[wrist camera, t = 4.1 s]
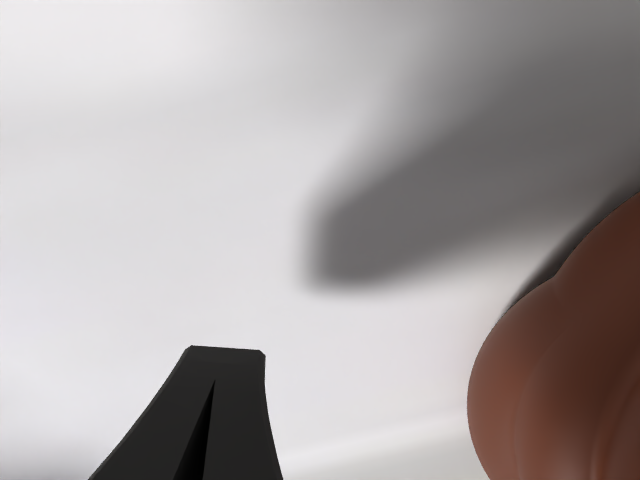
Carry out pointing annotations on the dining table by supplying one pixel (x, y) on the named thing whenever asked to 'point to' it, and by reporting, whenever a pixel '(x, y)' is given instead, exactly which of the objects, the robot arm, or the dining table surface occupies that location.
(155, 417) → the robot arm
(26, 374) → the dining table surface
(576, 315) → the poop emoji
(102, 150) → the dining table surface
